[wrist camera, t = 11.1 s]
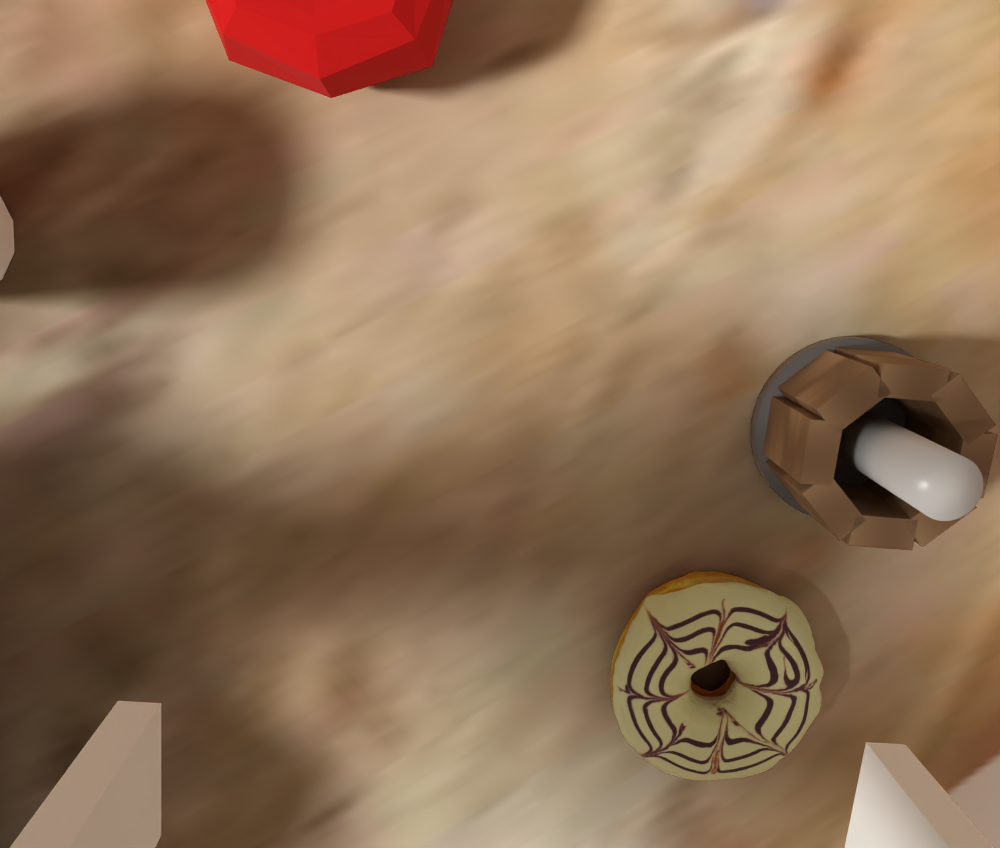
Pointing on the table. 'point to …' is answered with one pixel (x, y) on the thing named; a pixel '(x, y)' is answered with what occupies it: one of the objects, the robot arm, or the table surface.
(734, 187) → the table surface
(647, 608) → the decorated donut
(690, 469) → the table surface
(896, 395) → the ring
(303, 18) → the apple
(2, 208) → the foam cup
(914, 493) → the post
